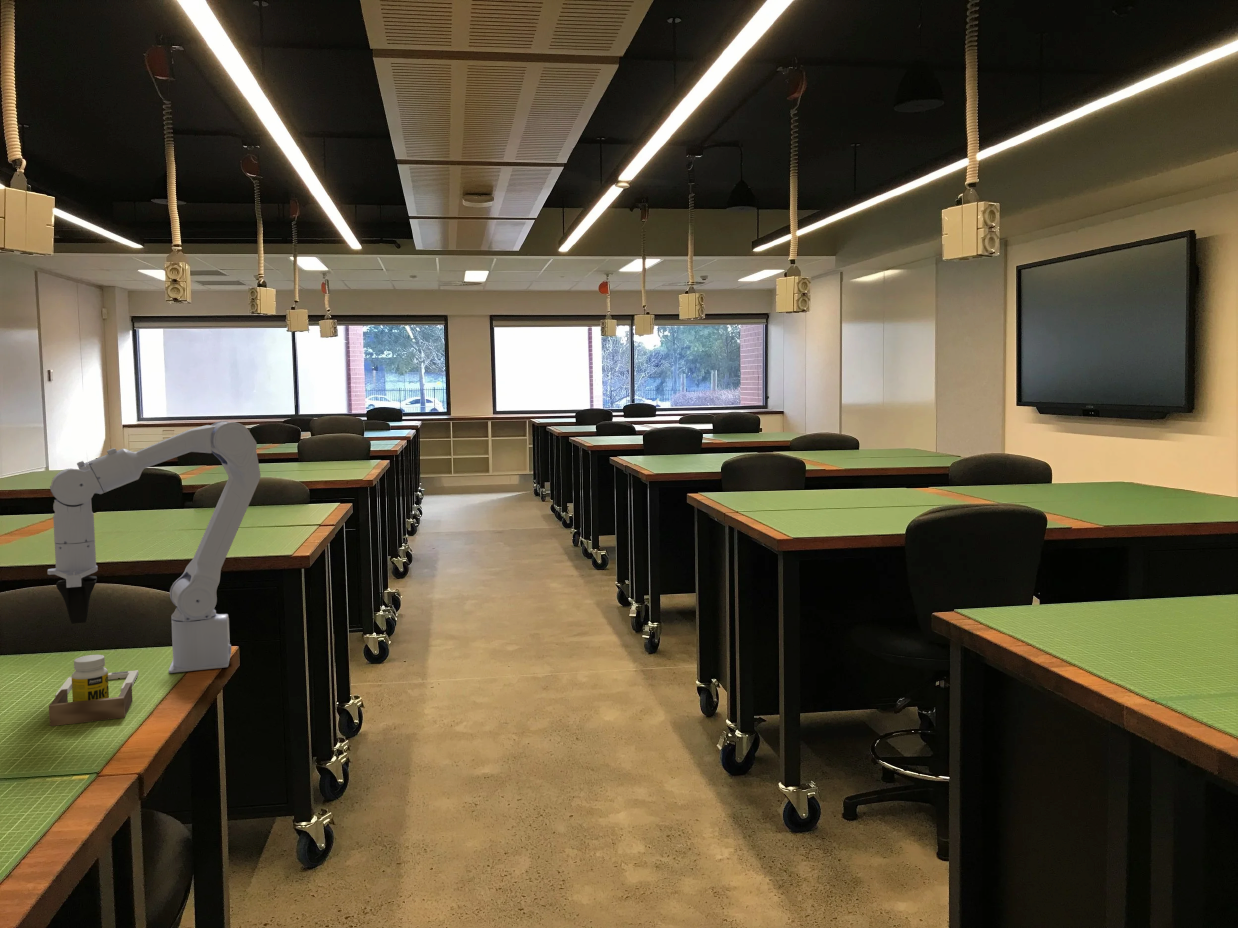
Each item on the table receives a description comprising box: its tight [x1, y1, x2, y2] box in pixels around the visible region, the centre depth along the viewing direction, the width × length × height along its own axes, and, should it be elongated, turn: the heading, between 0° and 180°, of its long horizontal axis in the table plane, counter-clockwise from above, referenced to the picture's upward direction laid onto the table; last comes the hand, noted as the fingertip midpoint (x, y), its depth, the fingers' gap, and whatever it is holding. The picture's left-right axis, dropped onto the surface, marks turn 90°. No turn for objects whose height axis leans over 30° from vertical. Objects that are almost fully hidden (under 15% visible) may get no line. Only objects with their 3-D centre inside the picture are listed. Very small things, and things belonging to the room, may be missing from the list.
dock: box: [54, 669, 139, 698], centre depth 147 cm, size 10×10×1 cm
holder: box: [48, 682, 133, 727], centre depth 135 cm, size 10×8×3 cm
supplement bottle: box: [71, 654, 110, 702], centre depth 135 cm, size 5×5×8 cm
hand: (78, 622), depth 148 cm, fingers closed
